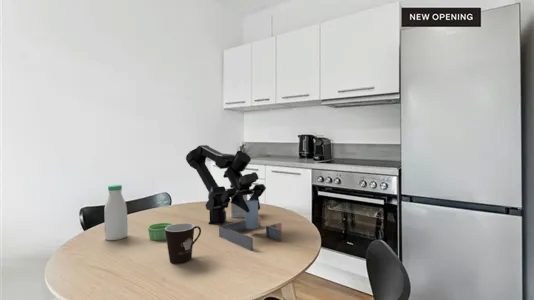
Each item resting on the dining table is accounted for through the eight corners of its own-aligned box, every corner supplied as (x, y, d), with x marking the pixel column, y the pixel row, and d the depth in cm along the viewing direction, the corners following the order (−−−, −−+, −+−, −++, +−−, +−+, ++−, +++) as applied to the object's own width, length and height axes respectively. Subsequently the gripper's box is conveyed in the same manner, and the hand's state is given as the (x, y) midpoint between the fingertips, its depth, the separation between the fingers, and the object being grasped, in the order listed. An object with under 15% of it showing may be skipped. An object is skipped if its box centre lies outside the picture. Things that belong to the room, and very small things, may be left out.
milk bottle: (132, 235, 113) (130, 184, 112) (114, 241, 106) (112, 187, 105) (118, 233, 116) (117, 183, 115) (100, 239, 109) (98, 186, 108)
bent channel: (251, 250, 95) (250, 238, 95) (219, 236, 110) (218, 225, 110) (293, 236, 108) (293, 226, 108) (259, 225, 123) (259, 216, 123)
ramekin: (143, 237, 110) (143, 226, 110) (166, 232, 117) (165, 221, 117) (155, 242, 104) (154, 230, 104) (177, 236, 111) (177, 225, 111)
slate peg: (244, 228, 109) (244, 202, 109) (246, 225, 114) (245, 199, 114) (257, 228, 109) (257, 202, 109) (258, 225, 114) (258, 199, 114)
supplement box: (246, 217, 137) (246, 190, 136) (231, 217, 137) (230, 191, 137) (248, 213, 144) (247, 188, 144) (233, 213, 144) (232, 188, 144)
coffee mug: (168, 268, 83) (167, 233, 83) (163, 257, 90) (162, 225, 90) (208, 259, 88) (207, 227, 88) (200, 250, 96) (200, 220, 96)
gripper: (224, 167, 108) (243, 201, 100) (262, 164, 120) (281, 194, 112) (213, 186, 114) (230, 219, 106) (251, 181, 126) (268, 211, 118)
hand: (253, 210), depth 110 cm, fingers closed on slate peg, 5 cm apart
